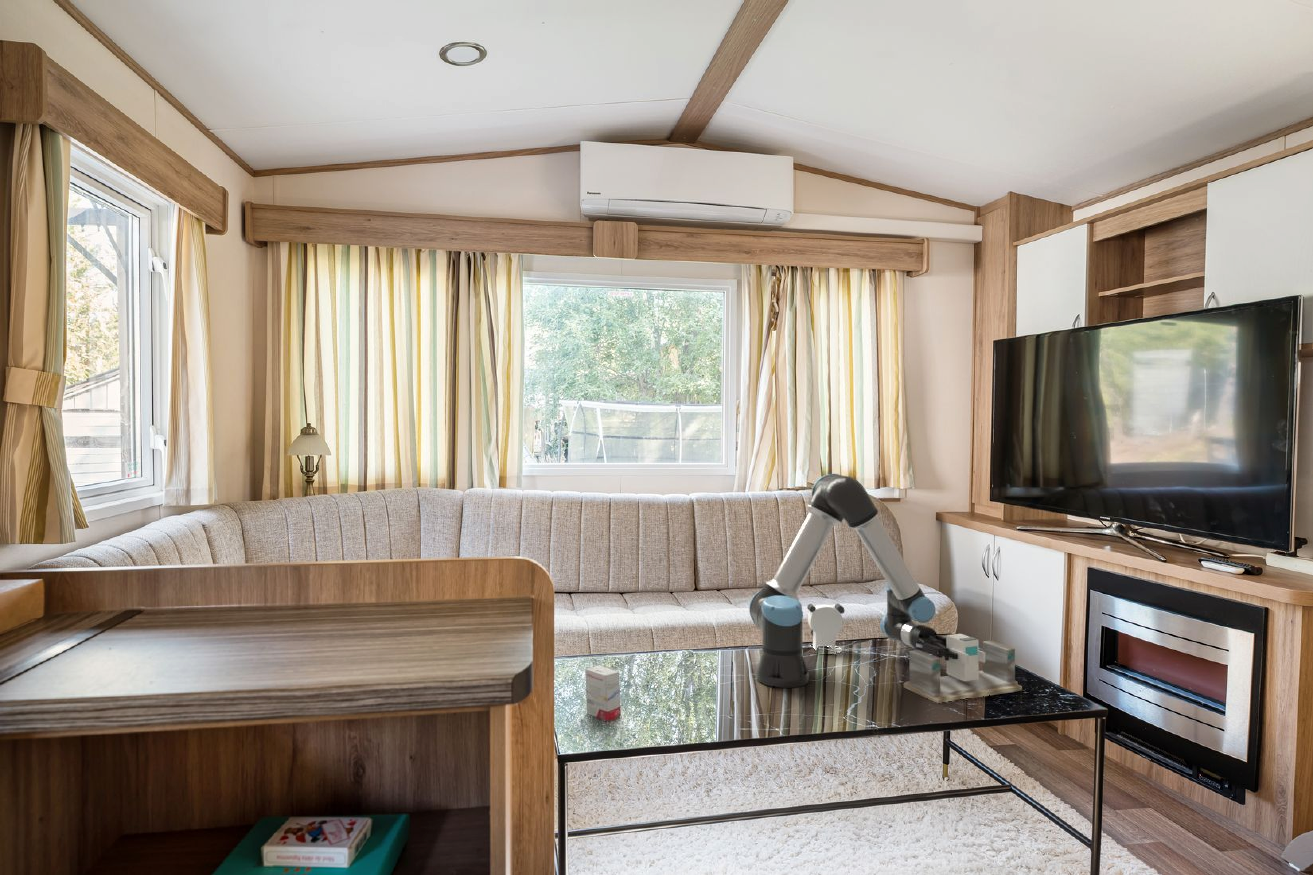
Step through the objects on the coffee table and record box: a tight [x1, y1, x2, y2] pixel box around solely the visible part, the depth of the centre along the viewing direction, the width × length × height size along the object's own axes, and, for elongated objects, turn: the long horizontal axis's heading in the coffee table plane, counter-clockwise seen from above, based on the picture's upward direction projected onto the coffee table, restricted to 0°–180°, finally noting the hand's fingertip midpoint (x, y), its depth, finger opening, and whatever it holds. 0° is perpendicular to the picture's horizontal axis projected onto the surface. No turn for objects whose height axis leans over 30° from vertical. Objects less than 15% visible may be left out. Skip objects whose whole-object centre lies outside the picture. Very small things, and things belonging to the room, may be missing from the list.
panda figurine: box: [806, 603, 845, 655], centre depth 252 cm, size 12×11×15 cm
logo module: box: [945, 633, 980, 681], centre depth 214 cm, size 5×7×11 cm
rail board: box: [903, 640, 1023, 704], centre depth 214 cm, size 29×14×11 cm, turn 110°
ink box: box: [584, 664, 622, 722], centre depth 196 cm, size 9×5×12 cm, turn 44°
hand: (976, 658), depth 209 cm, fingers closed on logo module, 5 cm apart
